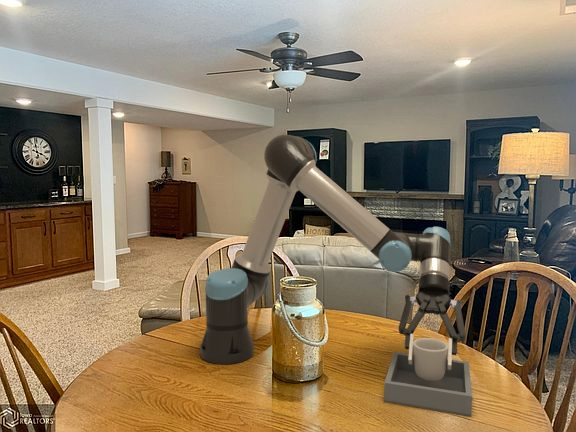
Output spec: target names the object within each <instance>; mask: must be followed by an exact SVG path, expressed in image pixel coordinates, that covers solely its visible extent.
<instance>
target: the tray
mask: <svg viewBox="0 0 576 432" xmlns="http://www.w3.org/2000/svg"><path fill="white" fill-rule="evenodd" d="M408 357H409V353H405V352H404V353H403V352H399V351H398V352H397V351H393V354H392V357H391V360H390V363H389V367H388V371H387V373H386V377H385V379H384V382H383V383H384V384H383V386H384V387H383V390H384V391H383V402H385V403H389V404H396V405H400V406H401V405H402V406H407V407H412V408H413V407H414V408H420V409H424V410H431V411H437V412H443V413H447V414H449V413H450V414H456V415H460V416H466V417H472V407H473V393H472V383H471V382H472V381H471V369H470V362H469V361H463V360H458V359H452V364H451V370H448V358H447V362H446V369H445V375H444V377H443V378H442V379H441V380H438V381H427V380H424V379H421V378H420V377H418V376H417V374H416V372H415V365H414V354H413V359H412V365H411V364H409V362H408Z"/></svg>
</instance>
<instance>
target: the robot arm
mask: <svg viewBox="0 0 576 432" xmlns="http://www.w3.org/2000/svg"><path fill="white" fill-rule="evenodd" d="M263 157H264V163H265V165H266V167H267V171H266V173H265V174H266V177H267V179H268V183H267V186H266V188H265V191H264V194H263V196H262V199H261V202H260V203H259V204H260V205H259V207H258V210H257V213H256V216H255V218H254V220H253V223H252V225H251V229H250V231H249V234H248V236H247V240H246V242H245V245H244V248H243V250H242V252H241V253H240V254H237V255H236V256H235V257H234V260H233V263H232V264H231V265H232V266H231V268H230V267H229V268H228V267H227V268H222V269H217V270H214V271H213V272H211V273H209V274H208V275H207V277H206V280H205V287H204V292H205V314H206V315H205V322H206V325H205V327H206V329H205V331H204V334H203V337H202V342H201V345H200V357H201V359H202V360H204V361H206V362H208V363H212V364H218V365H231V364H238V363H241V362H244V361H247V360H249V359H250V358H253V356H254V354H255V344H254V341H253V338H252V334H251V332H250V330H249V325H248V324H249V323H248V322H249V321H248V317H249V316H248V313H249V312H248V310H249V309H248V308H249V307H250V306H251V305H252V304H254V303H255V302H257V301H258V300H260V299H261V298H262V297H263V295H264V294H265V293H266V291H267V289H268V287H269V276H270V273H271V270H272V269H271V267H270V264H269V262H270V259H271V258H272V257H271V256H272V255H273V252H274V249H275V247H276V244H277V242H278V239H279V236H280V233H281V232H282V229H283V226H284V224H285V221H286V218H287V216H288V213H289V210H290V208H291V205H292V203H293V200H294V198H295V195H296V193H297V192H300V193H302V194H303V196H305V197H306V198H307V199H309V200H310V201H311V202H312V203H313V204H314V205H315V206H316V207H318V208H319V209H320V210H321V211H322V212H323V213H324V214H326V215H327V216H328V217H330V218H331V219H332V220H333V221H334V222H335V223H337V225H339V226H340V227H341V228H342V229H343V230H345V231H346V232H347V233H348V234H350V235H351V237H352V238H354V239H355V240H356V241H357V242H359V243H360V244H361V245H362V246H363V247H365V248H366V249H367V250H368V251H369V252H371V254H372V255H374V256H375V258H377V259H378V260H379V263H380V264H381V266H382V267H383V268H384V269H385V270H386V271H388V272H393V273H398V272H401V271H404V270H405V269H407V268H408V266H409V265H410V263H411V262H420V263H419V264H420V265H419V277H418V278H419V280H418V287H417V288H418V291H417V294H416V296H410V295H409V294H406V295H404V298H405V305H404V308H403V311H402V315H401V318H400V322H399V325H398V334H400V335H404V337H405V339H404V347H405V350H408V354H409V357H408V362H409V364H411V365H412V359H413V355H414V353H413V342H414V341H415V334H414V332H415V331H416V329H417V327H418V326H419V324H420V322H421V321H422V319H423V318H424V316H425V315H426V314H428V315H431V314H433V315H437V316H439V317H440V319H441V320H442V322H443V324H444V327H445V329H446V331H447V333H448V334H447V335H448V336H449V337H448V341H447V343H448V344H447V345H448V347H449V348H448V355H447V359H448V370H451V364H452V360H453V359H452V356H457V354H458V343H459V342H466V337H467V336H466V329H465V325H464V324H465V323H464V318H463V313H462V306H463V300H462V299H457V300H453V299H451V296H450V277H451V276H450V275H451V254H452V253H451V248H452V245H451V235H450V232H449V231H448V230H447V229H445V228H443V227H441V226H433V227H427V228H426V229H424V231H422V234H421V233H419V234H418V233H416V234H415V233H407V232H398V231H393V230H391V229H390V228H389V227H388V226H386V225H385V224H384V223H383V222H382V221H381V220H379V219H378V218H377V217H376V216H375V215H374V214H372V212H371V211H369V210H367V208H366V207H364V206H363V205H362V204H361V203H359V202H358V201H357V200H356V199H354V198H353V197H352V196H351V195H350V194H349V193H347V191H345V190H344V189H343V188H342V187H340V186H339V185H338V184H337V183H336V182H335V181H333V180H332V179H331V178H330V177H329V176H327V174H325V173H324V172H323V171H322V170H320V169H319V168H318V167H317V166H316V165H317V160H318V159H317V157H318V156H317V152H316V149H315V147H314V146H313V144H311V142H309V141H308V140H307V139H306V138H305V139H304V138H303V137H300V136H297V135H296V136H295V135H291V134H280V135H277V136H275V137H273V138H272V139H270V141H268V143H267V145H266V147H265V149H264V156H263ZM415 303H417V305H418V306H419V307H418V309H417V311H416V313H415V314H414V316H413V318H412V319H411V321H410V323H409V324H408V326H407V323H408V322H409V321H408V320H409V316H410V313H411V309H412V307H413V306H414V305H415ZM450 306H452V309H453V310H454V311H455V312H454V315H455V318H456V319H455V320H456V327H457V329H458V330H457V332H458V333H457V332H456V330H455V328H454V326H453V323H452V321H451V319H450V316H449V315H448V313H447V309H448V308H449V307H450ZM406 326H407V328H406Z"/></svg>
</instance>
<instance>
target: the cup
mask: <svg viewBox="0 0 576 432" xmlns="http://www.w3.org/2000/svg"><path fill="white" fill-rule="evenodd" d="M448 348H449V347H448V344H447V342H445V341H443V340H440V339H437V338H433V337H432V338H431V337H422V338H421V337H420V338H417V339H414V342H413V355H414V365H415V372H416V374H417V376H418V377H420V378H421V379H424V380H427V381H438V380H441V379H442V378H443V377H444V375H445V369H446V362H447V359H448Z"/></svg>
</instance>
